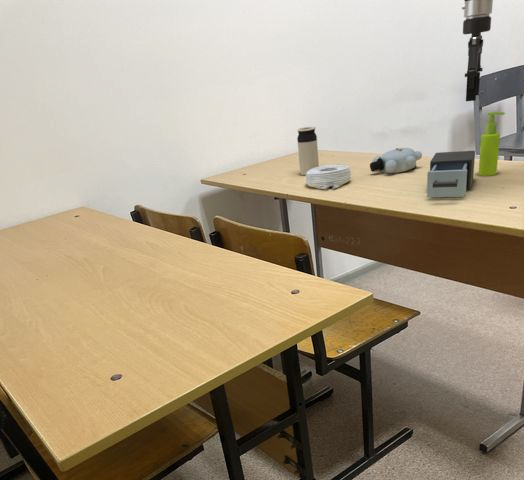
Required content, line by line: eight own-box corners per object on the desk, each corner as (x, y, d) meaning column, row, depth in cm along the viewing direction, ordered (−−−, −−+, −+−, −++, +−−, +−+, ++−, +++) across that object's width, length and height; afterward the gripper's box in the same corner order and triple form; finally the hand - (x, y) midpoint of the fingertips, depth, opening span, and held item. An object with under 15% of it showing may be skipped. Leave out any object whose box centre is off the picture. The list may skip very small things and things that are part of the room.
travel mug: (307, 176, 220) (304, 130, 212) (296, 174, 226) (292, 129, 218) (323, 172, 224) (319, 126, 215) (311, 170, 230) (308, 126, 221)
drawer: (464, 201, 158) (465, 174, 154) (424, 201, 163) (425, 175, 159) (468, 185, 173) (470, 160, 169) (432, 186, 177) (433, 162, 173)
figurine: (407, 161, 218) (363, 175, 216) (405, 140, 214) (360, 154, 212) (430, 168, 203) (383, 183, 201) (428, 145, 199) (380, 160, 197)
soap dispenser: (497, 175, 182) (503, 113, 173) (476, 175, 186) (480, 114, 176) (501, 171, 186) (506, 110, 177) (480, 172, 190) (485, 111, 180)
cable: (332, 191, 193) (331, 174, 190) (296, 188, 204) (294, 172, 201) (360, 179, 203) (359, 163, 200) (323, 177, 215) (322, 162, 212)
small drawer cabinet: (469, 190, 171) (471, 159, 166) (429, 191, 175) (430, 161, 171) (473, 179, 182) (475, 150, 177) (435, 181, 187) (435, 152, 182)
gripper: (466, 19, 163) (462, 94, 173) (459, 19, 144) (455, 104, 154) (493, 15, 160) (487, 92, 171) (489, 14, 141) (483, 102, 151)
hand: (472, 98), depth 162 cm, fingers open, 13 cm apart
